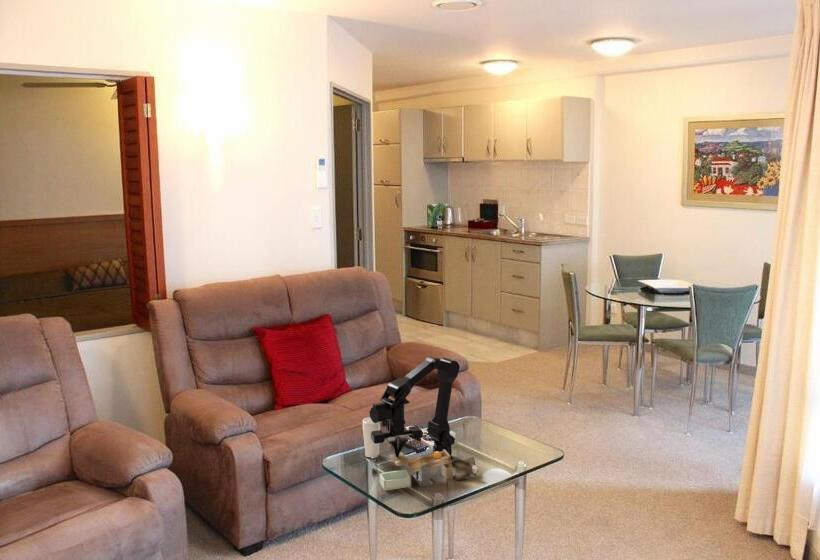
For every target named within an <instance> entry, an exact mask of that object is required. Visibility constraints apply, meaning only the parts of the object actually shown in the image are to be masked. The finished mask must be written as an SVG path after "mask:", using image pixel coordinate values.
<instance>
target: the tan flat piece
mask: <svg viewBox="0 0 820 560" xmlns="http://www.w3.org/2000/svg"><path fill="white" fill-rule="evenodd" d="M440 453H441V459H438V460H435V459H434V458H433V453H432V454H427V455H423V456H418V457H419V458H418V457H414V456H413V455H412V456H411V455H410V456H407V457H406V456H405V454H404V453H403V452H402V451H401V452H400V454H399V456H398V457H396V456H395V453H392V454H388V457H389V459H390V460H391V461H392V463H393V464H395V465H396V466H397V467H398V466H403V465H407V467H408V469H409V470H410V471H411V473H415V472H417V471H421V470H422V466H429V465H430V469H431V468H435V467H439V466H442V465H443V464H447V463H450V464H451V463H452V459H451V456H450V455H449V454H448V452H447V451H446V450H445V449H444V450H443V451H442V452H440Z"/></svg>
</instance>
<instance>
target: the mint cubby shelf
mask: <svg viewBox="0 0 820 560" xmlns="http://www.w3.org/2000/svg"><path fill="white" fill-rule="evenodd" d="M408 472H409V471H407V469H399V470H393V471H385V472H380V473H379V474H378V476H379V478H378V479H379V481H378V482H379V484H380V487H382V489H383V490H384V491H385V492H386V491H392V490H397V489H403V488H404V489H405V488H411V487H412V476H411V475H410V473H408Z"/></svg>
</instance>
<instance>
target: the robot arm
mask: <svg viewBox="0 0 820 560" xmlns="http://www.w3.org/2000/svg"><path fill="white" fill-rule="evenodd" d="M460 367H461V366H460V364H459V362H458V361H456V360H454V359H452V358H450V357H442V358H438V357H433V356H427V357H426V358H425V359H424V360H423V361H422V362H421V363H420V364H418V365H417V366H416V367H415V368H413V369H412V370H411V371H410V372H409V373H407V374H406V375H405V376H403V377H400V378H397V379H394V380H392V381H391V382H389V383H388V384H387V385H386V389H385V391H384V393H383V395H381V398H380V399H379V400H380V402H378V403H377V402H375V403H373V404H372V407H371V408H370V411H369V417H370V418H371V420H372V421H373V422H374V423H378V422H380V428H381V427H382V428H385V429H386V430H387V431H388V432H383V431H382V430H381V429H380V430H378V431H372V432H371V439H372V441H373V442H374V443H375V444H377V443H379V444H382V443H384V442H385V441H387V443H388V444H389V445H391V446H392V449H393V452H394V453H393V454H395V456H396V457H398V456H399V454H400V452H402V449H403V448H404V445H405V444H406V443H408V442H409V439H408V436H409V437H410V436H412V437H413V439H414V440H415V439H416V440H417V439H423V437H424V433H423V429H421V428H420V426H418V425H413V426H412V425H411V426H409V427H408V429H407V430H405V428H406V427H405V424H406V420H405V405H407V404H410V401H409V400H408V399H407V397H408V396H409V395H410V394H411V391H412V389H413V388H414V387H415V386H416V385H417V384H419V382H421V381H422V380H423V379H424V378H426V377H427V376H429V374H431V373H432V372H433V371H435V370H437V375H438V376H437V377H438V379H439V386H438V391H437V398H436V404H435V405H436V406H435V413H434V417H433V418H432V419H431V420H428V422H427V428H426V431H427V435H428V436H429V437H430V440H431V441H433V445H432V454H433V453H434V452H436V451H439V452H442V451H443V450H444V449H445V450H446V451H447V452H448V454H449V455H450V456H451V460H454V456H453V455H452V453H453V451H452V450H453V449H452V446H453V445H454V444H455V441H456V438H455V437H454V436H453V435H451V433H450V432H451V430H450V429H451V427H450V423H449V421H448V416H449V409H450V403H451V396H452V395H451V394H452V389H453V384H454V382H455V380H456V379H457V378H458V375H459V372H460Z"/></svg>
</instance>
